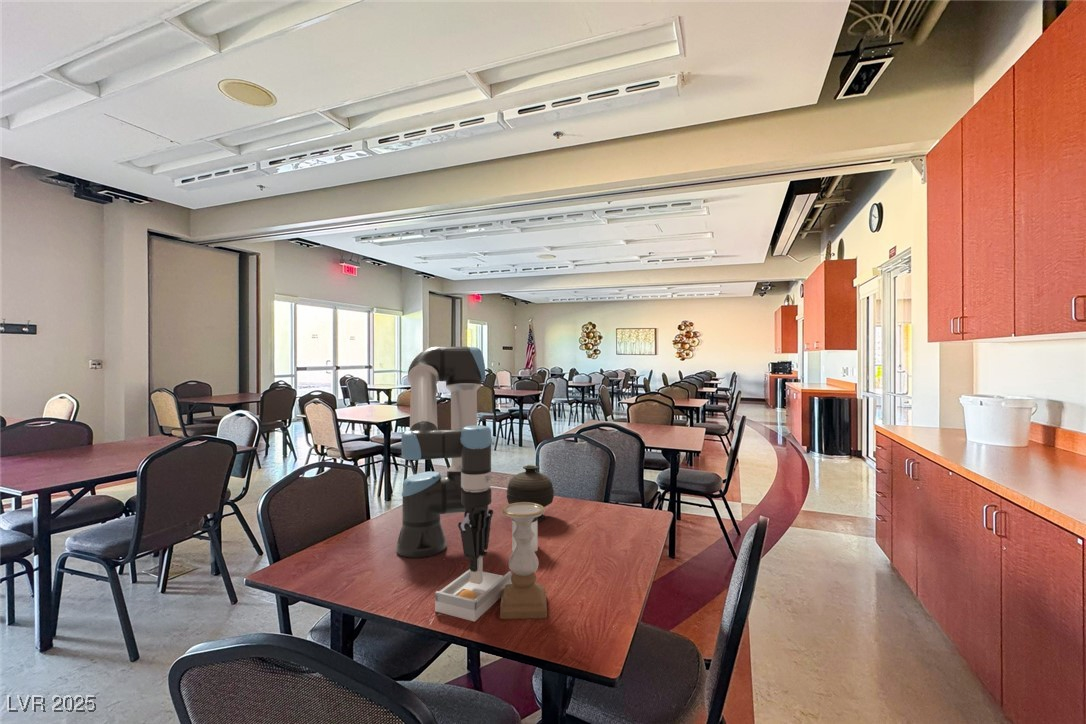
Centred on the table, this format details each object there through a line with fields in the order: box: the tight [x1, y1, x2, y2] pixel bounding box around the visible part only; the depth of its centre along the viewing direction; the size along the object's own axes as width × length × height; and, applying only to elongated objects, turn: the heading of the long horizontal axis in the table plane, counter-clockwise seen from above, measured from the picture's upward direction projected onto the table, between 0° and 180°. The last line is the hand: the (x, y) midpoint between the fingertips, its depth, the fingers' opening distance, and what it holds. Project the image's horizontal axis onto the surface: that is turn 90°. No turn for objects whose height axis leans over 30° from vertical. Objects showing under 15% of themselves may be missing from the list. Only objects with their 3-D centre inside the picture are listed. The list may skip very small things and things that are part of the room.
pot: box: [506, 464, 555, 522], centre depth 179 cm, size 18×18×20 cm
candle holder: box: [499, 502, 548, 620], centre depth 115 cm, size 11×11×24 cm
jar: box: [511, 517, 539, 553], centre depth 150 cm, size 9×8×12 cm
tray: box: [434, 568, 513, 622], centre depth 118 cm, size 11×18×4 cm, turn 156°
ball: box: [459, 590, 475, 600], centre depth 114 cm, size 4×4×4 cm
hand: (476, 582), depth 119 cm, fingers closed
